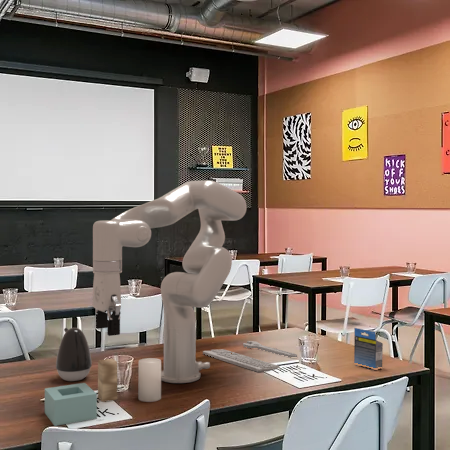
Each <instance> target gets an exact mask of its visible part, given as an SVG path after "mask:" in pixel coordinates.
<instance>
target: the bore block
mask: <svg viewBox="0 0 450 450" xmlns="http://www.w3.org/2000/svg"><path fill="white" fill-rule="evenodd" d="M97 402H98V392H96V391H95V390H93V389H92V388H91V387H90V386H89V385H88V384H87V383H86V382H80V383H73V384H68V385H67V384H66V385H60V386H53V387H45V388H44V414H45V416H47V418H48V419H49V420H50V423H52V425H53V426H54V427H56V426H57V427H58V426H63V425H69V424H75V423H79V422H86V421H90V420H96V419H97V418H98V417H97V416H98V413H97V410H98V407H97V405H98V403H97Z"/></svg>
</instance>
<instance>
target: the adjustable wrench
mask: <svg viewBox="0 0 450 450" xmlns="http://www.w3.org/2000/svg"><path fill="white" fill-rule="evenodd" d="M243 346H244V347H243ZM242 347H243V348H245V347H247V348H246V349H248V348H258V349H257V350H259V349H261V350H260V351H263V350H265V351H264V352H266V351H268V352H267V353H270V352H272V353H271V354H274V353H275V355H278V354H279V355H278V356H281V355H284V356H283V357H285V356H288V357H287V358H289V357H297V358H298V354H297V353H295V352H290V351H286V350H282V349H277V348H274V347H270V346H268V345H267V346H266V345H264V344H261V343H259V341H253V340H247V341H246V342H243V344H242Z"/></svg>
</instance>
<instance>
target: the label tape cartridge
mask: <svg viewBox="0 0 450 450" xmlns="http://www.w3.org/2000/svg"><path fill="white" fill-rule="evenodd" d="M353 334H354V338H353V339H354V340H353V341H354V346H353V347H354V353H353V354H354V356H353V357H354V360H353V361H354V363H358V364H362V365H366V366H369V367H373V368H378V367H382V368H383V352H384V350H383V345H384V344H383V343H382V342H381V341H378V340H377V337H376V335H377V334H376V331H371V330H367V329H362V328H357V327H354V333H353ZM354 363H353V364H354Z"/></svg>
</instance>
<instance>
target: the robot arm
mask: <svg viewBox="0 0 450 450" xmlns="http://www.w3.org/2000/svg"><path fill="white" fill-rule="evenodd" d="M247 208H248V207H247V202H246V200H245V198H244V197H243V195H242V194H240V193H238V192H237V191H235V190H233V189H231V188H229V187H227V186H225V185H223V184H222V183H220V182H217V181H214V180H209V179H207V180H190V181H186V182H184V183H183V184H181V185H179V186H177V187H176V188H173V189H172V190H170V191H169V192H167V193H165V194H164V195H162V196H159V197H158V198H156V199H153V200H150V201H147V202H145V203H143V204H139V205H137V206H134V207H133V208H130V209H127V210H126V211H124V212H121V213H120V214H118V215H117V216H115V217H113V218H112V219H111V220H97V221H95V222H94V223H93V226H92V273H93V281H92V282H93V283H92V284H93V285H92V307H93V308H94V309H95V311H94V312H95V329H96V330H99V329H100V330H101V329H107V336H108V337H110V336H119V335H120V334H121V314H122V313H121V310H122V309H121V308H122V292H121V291H122V290H121V289H122V287H121V277H120V274H121V273H122V272H123V247H127V248H140V247H143V246H145V245H146V244H148V243H149V241H150V240H151V238H152V230H151V229H155V228H156V229H157V228H163V227H167V226H170V225H174V224H175V223H176V222H178V221H180V220H181V219H182V218H184V217H186V216H187V215H189V214H190V213H192V212H194V211H195V210H198V214H199V219H200V229H199V232H198V234H197V235H196V237H195V239H194V240H193V241H192V243H191V245H190V246H189V248H188V250H187V251H186V252H185V254H184V256H183V259H182V268H183V270H184V271H185V272H182V271H174V272H171V273H168V274H167V275H166V276H165V277H164V278H163V280H162V281H161V283H160V284H161V285H160V295H161V301H162V306H163V307H162V308H163V370H161V382H165V383H170V384H186V383H187V384H188V383H193V382H196V381H198V380H199V379H200V378H201V376H202V375H201V372H200V371H202V370H207V369H210V367H211V363H210V361H205V362H202V361H197V360H196V351H197V349H196V342H197V341H196V337H197V333H196V332H197V327H196V326H197V319H196V313H195V310H194V308H206V307H208V306H210V305H211V304H212V303H213V301H214V300H215V298H216V297H217V295H218V293H219V292H220V290H221V288H222V286H224V283H226V280H227V279H228V276H229V274H230V273H231V271H232V270H231V269H232V265H233V262H232V261H233V259H232V255H231V253H230V251H229V250H228V249H227V248H225V247H223V245H224V244H225V240H226V235H225V234H226V233H225V231H224V227H223V224H222V221H232V222H233V221H238V220H241V219H242V218H243V217H244V216H245V215H246V213H247Z"/></svg>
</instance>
